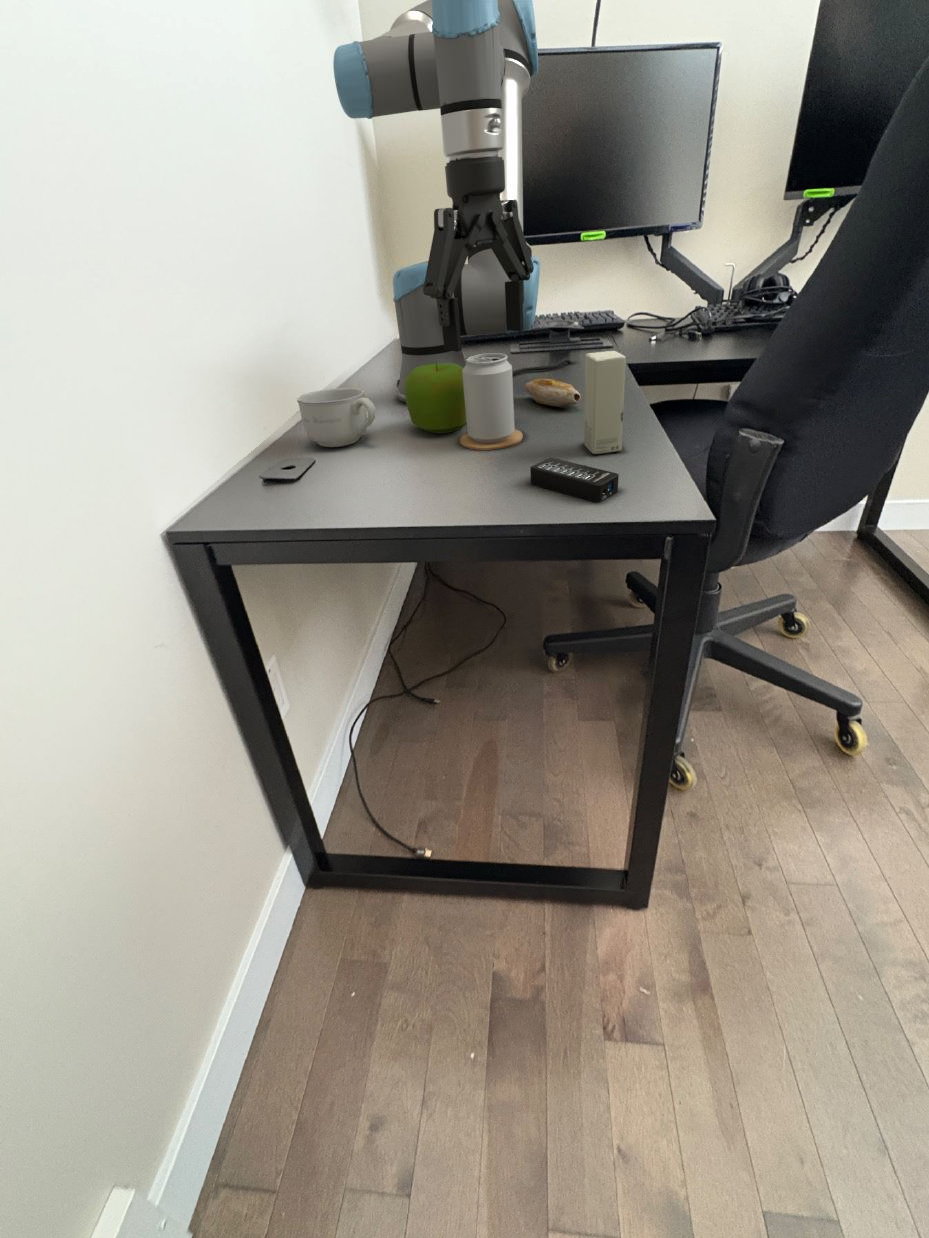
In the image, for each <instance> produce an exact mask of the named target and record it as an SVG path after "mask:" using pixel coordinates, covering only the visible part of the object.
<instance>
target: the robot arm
mask: <svg viewBox="0 0 929 1238" xmlns="http://www.w3.org/2000/svg"><path fill="white" fill-rule="evenodd" d="M536 27H537V26H536V19H535V11H534V4H533V0H425V1H423V2H421V3H419V4H417V5H415V6H414V7H412V8H410V9H408V10H407V11H405V12H403V13H401V14H400V15H399V16H397V18H396V19H395V20H394V22H393V23H392V25H391V27H390V29H389V30H388V31H386V32H384V33H382V34H381V35H379V36H377V37H375V38H372V39H368V40H362V41H361V40H360V41H359V40H354V41H352V42H351V43H350V42H349V43H345V44H342V45H341V44H340V45H339V46H337V47H336V48H335V51H334V53H333V61H332V62H333V63H332V64H333V77H334V82H335V88H336V92H337V97H338V100H339V103H340V106H341V108H342V111H343V112H344V114H345V115H346V116H347V117H348V118H350V119H353V120H356V119H368V120H372V119H373V118H377V117H385V116H390V115H399V114H403V113H404V114H405V113H411V112H421V111H430V110H440V125H441V137H442V139H441V140H442V152H443V156H444V157H445V158H448V162H446V163H445V166H444V173H445V184H446V195H447V196H448V197H449V198H450V199H451V200H452V205H451V207H441V208H435V209H434V211H433V235H432V240H431V245H430V251H429V256H428V260H426V261H422V262H419V263H414V264H412V265H407V266H405V267H401V268H400V269H398V270H396V271H395V272H394V274H393V276H392V289H393V298H392V300H393V302H394V308H395V314H396V315H395V316H396V322H397V330H398V336H399V343H400V344H399V345H400V350H401V364H400V370H399V371H400V372H399V379H397V382H396V388H397V397H398V400H399V401H400V402H402V403H405V404H406V398H405V393H404V387H405V379H406V378H407V377H408V375H409V374H410V373H411V372H412V371H413V369H414V368H416V367H419V366H424V365H430V364H436V363H435V361H437V364H439V363H452V364H457V365H459V366H461V367H462V368H463V369H464V367H465V366H466V364H467V362H466V359H465V356H464V353H463V346H462V337H465V336H479V335H496V334H507V335H508V334H509V335H510V334H512V333H517V332H525V331H528V330H529V329H530V328H531V327H532V326H533V325H534V322H535V318H536V313H537V307H538V306H537V305H538V297H539V284H540V283H539V282H540V273H541V261H540V259H539V258H538V257H535V256H533V249H532V247H531V245H530V244H529V243H528V242H527V240H526V237H525V235H524V195H523V193H524V188H523V187H524V184H523V180H524V179H523V178H524V177H523V109H522V108H523V107H522V106H523V105H522V103H523V101H522V99H523V98H524V97H525V96H526V95H527V93H528V92H529V89H530V86H531V78H533V77H535V76H537V75H538V73H539V52H538V39H537V30H536ZM466 262H467V263H466ZM564 363H567V364H568V365H573V364H574V363H573V361H572V360H571V359H569V358H567V357H564V358H562V359H560V360H559V361H558V362H557V363H554V364H551V365H542V366H532V367H523V368H518V369H515V370H512V376H515V375H517V374H521V373H526V372H535V371H536V372H537V371H548V370H552V369H556V368H558V367H560V366H562V365H563V364H564Z"/></svg>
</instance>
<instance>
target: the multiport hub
mask: <svg viewBox="0 0 929 1238" xmlns="http://www.w3.org/2000/svg"><path fill="white" fill-rule="evenodd" d="M529 470H530V472H529V473H530V484H531V485H532V486H536V487H540V488H544V489H546V490H551V491H554V492H558V493H561V494H563V495H564V494H565V495H568V496H570V497H571V496H572V497H574V498H579V499H583V500H585V501H589V502H593V503H601V502H603V501H605V500H607V499H609V498H610V497H612V496H613V495H615V494H617V493H618V491H619V479H620V477H619V476H620V474H619V473H617V472H613V471H609V470H605V469H601V468H596V467H592V466H588V465H584V464H580V463H577V462H576V463H575V462H571V461H568V460H564V459H560V458H554V457H548V458H546V459H544V460H543V459H542V461H539V462H537V463H535V464H533V465H531V466H530V467H529Z"/></svg>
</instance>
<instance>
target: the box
mask: <svg viewBox="0 0 929 1238" xmlns="http://www.w3.org/2000/svg"><path fill="white" fill-rule="evenodd" d="M584 359H585V360H584V361H585V364H584V428H583V429H584V430H583V432H584V436H583V437H584V438H583V444H584V446H585V447H586V449H587V450H588V451H589V452H590V453H591V454H593V455H601V454H602V455H603V454H609V453H615V452H616V453H617V452H620V451H622V447H623V446H622V443H623V422H624V406H625V405H624V403H625V401H624V400H625V385H626V384H625V383H626V382H625V381H626V366H627V365H626V363H627V357H626V356H625V355H624V354H622V353H620V352H618V351H616V350H607V351H597V352H590V353H589V352H588V353H586V354H585V358H584Z"/></svg>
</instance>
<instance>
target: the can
mask: <svg viewBox="0 0 929 1238" xmlns="http://www.w3.org/2000/svg"><path fill="white" fill-rule="evenodd" d="M465 361H466V366H465V367H464V369H463V371H462V374H463V386H464V397H465V409H466V421H467V424H466V433H468V435H469V436H470V437H471V438H473V440H474V441H477V442H481V443H495V442H500V441H503V440H506V439H508V438H509V437H510V435H511V434H512V433H513V432H514V431H515V430H514V429H515V407H514V404H515V403H514V387H513V386H514V382H513V381H514V380H513V379H514V378H513V375H512V371H513V366H512V364H511V363H510V362H509V360H508V354H505V353H500V352H489V353H479V354H474V355H470V356H469V357H467V358H466V359H465Z"/></svg>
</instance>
